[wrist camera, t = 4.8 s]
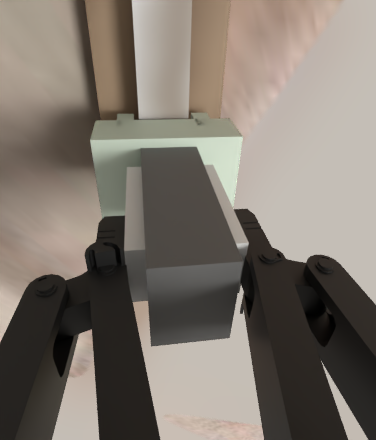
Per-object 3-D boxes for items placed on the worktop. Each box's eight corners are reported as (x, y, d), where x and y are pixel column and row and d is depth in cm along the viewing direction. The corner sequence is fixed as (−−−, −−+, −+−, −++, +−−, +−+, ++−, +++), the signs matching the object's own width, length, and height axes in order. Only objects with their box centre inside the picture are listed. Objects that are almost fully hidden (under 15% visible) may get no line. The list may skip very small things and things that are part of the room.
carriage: (107, 185, 22) (84, 361, 12) (97, 113, 19) (55, 262, 9) (218, 180, 23) (288, 338, 13) (224, 112, 21) (322, 244, 10)
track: (111, 188, 26) (109, 212, 23) (51, -294, 13) (27, -374, 10) (209, 184, 27) (218, 207, 24) (245, -265, 14) (274, -331, 11)
